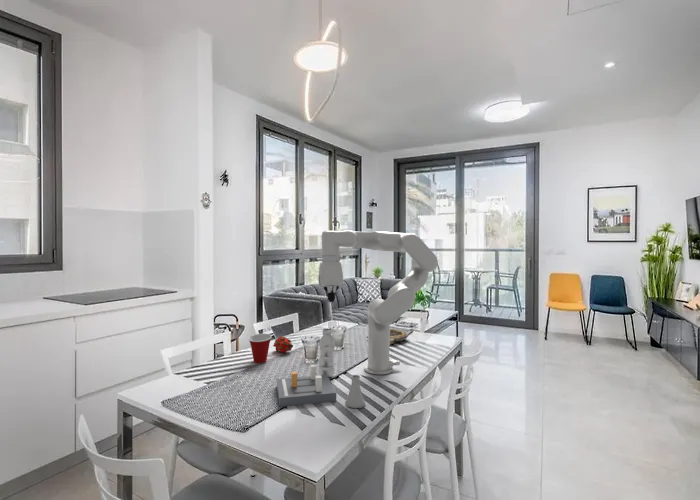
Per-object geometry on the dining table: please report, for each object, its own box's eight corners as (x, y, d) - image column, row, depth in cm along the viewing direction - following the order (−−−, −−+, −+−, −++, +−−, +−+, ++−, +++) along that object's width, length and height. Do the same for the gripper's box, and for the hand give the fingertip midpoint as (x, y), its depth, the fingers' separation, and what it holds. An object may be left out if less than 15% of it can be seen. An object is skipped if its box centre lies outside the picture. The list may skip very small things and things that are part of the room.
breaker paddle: (296, 384, 140) (296, 371, 140) (297, 387, 138) (297, 373, 138) (291, 385, 140) (291, 371, 140) (291, 387, 137) (291, 374, 137)
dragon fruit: (276, 352, 196) (291, 360, 189) (266, 345, 190) (281, 353, 183) (284, 337, 199) (300, 345, 192) (275, 331, 193) (290, 338, 186)
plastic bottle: (318, 374, 160) (318, 327, 159) (334, 373, 161) (334, 327, 160) (318, 379, 154) (318, 331, 153) (334, 379, 154) (335, 331, 154)
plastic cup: (243, 363, 173) (243, 337, 172) (257, 356, 183) (257, 332, 182) (262, 366, 169) (262, 340, 168) (276, 359, 179) (276, 334, 178)
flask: (363, 410, 127) (364, 381, 127) (342, 407, 128) (343, 379, 128) (367, 401, 134) (367, 373, 134) (347, 399, 135) (347, 371, 135)
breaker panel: (326, 382, 151) (327, 362, 151) (336, 401, 134) (336, 378, 133) (276, 386, 146) (276, 365, 146) (279, 406, 129) (279, 383, 128)
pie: (367, 333, 233) (368, 325, 233) (412, 335, 230) (412, 327, 230) (365, 345, 205) (365, 336, 205) (415, 348, 202) (415, 339, 202)
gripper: (344, 258, 167) (345, 299, 167) (311, 259, 162) (312, 301, 163) (349, 259, 160) (350, 302, 160) (315, 260, 155) (316, 304, 156)
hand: (331, 301), depth 162 cm, fingers closed
